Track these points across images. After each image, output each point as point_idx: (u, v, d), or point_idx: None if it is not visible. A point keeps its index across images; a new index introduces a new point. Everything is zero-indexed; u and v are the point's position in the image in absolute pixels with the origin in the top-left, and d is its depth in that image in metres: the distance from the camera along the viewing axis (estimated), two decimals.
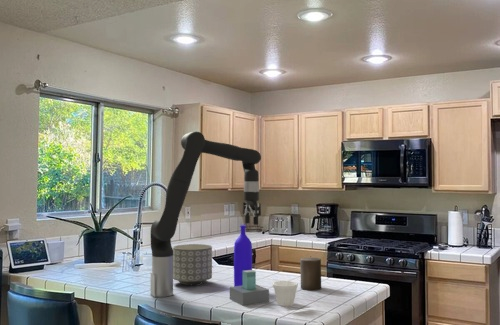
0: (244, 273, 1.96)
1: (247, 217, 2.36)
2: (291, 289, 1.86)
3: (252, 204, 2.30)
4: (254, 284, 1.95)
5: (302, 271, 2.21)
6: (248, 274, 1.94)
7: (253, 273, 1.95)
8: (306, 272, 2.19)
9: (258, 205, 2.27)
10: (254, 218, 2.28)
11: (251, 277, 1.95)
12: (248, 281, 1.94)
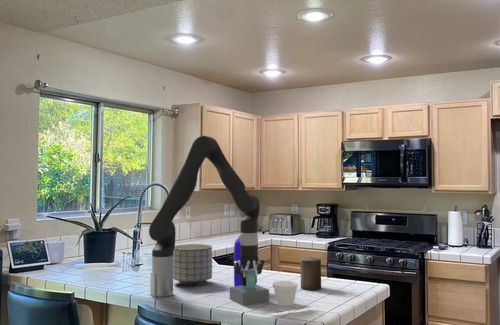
0: None
1: None
2: (291, 289, 1.86)
3: (256, 260, 1.97)
4: (254, 284, 1.95)
5: (302, 271, 2.21)
6: (248, 274, 1.94)
7: (253, 273, 1.95)
8: (306, 272, 2.19)
9: None
10: None
11: (251, 277, 1.95)
12: (248, 281, 1.94)
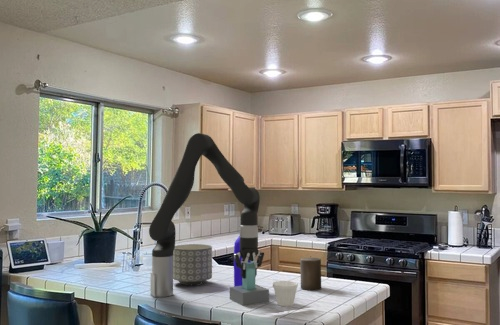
0: None
1: None
2: (291, 289, 1.86)
3: (256, 253, 1.97)
4: (254, 276, 1.95)
5: (302, 271, 2.21)
6: (248, 266, 1.94)
7: (253, 265, 1.95)
8: (306, 272, 2.19)
9: None
10: (255, 270, 1.97)
11: (251, 269, 1.95)
12: (248, 273, 1.94)
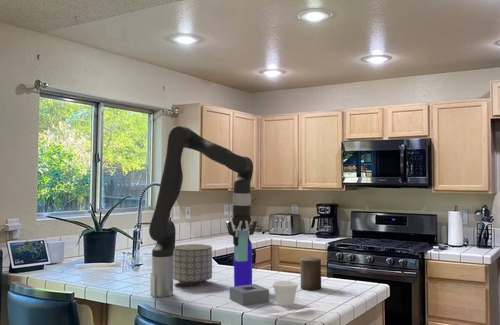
0: None
1: None
2: (291, 289, 1.86)
3: (249, 221, 1.99)
4: (246, 244, 1.97)
5: (302, 271, 2.21)
6: (240, 234, 1.96)
7: (245, 233, 1.97)
8: (306, 272, 2.19)
9: None
10: None
11: (243, 237, 1.96)
12: (240, 241, 1.96)
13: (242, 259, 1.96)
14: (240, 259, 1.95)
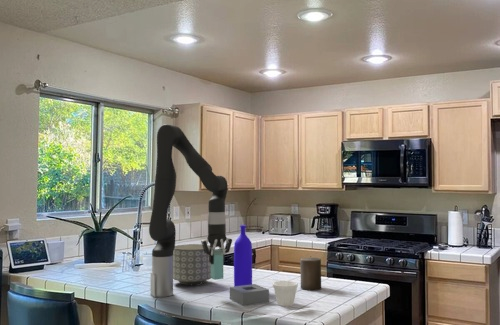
0: None
1: None
2: (291, 289, 1.86)
3: (224, 239, 2.02)
4: (222, 262, 2.00)
5: (302, 271, 2.21)
6: (216, 252, 1.98)
7: (221, 251, 2.00)
8: (306, 272, 2.19)
9: None
10: (223, 256, 2.01)
11: (219, 255, 1.99)
12: (216, 259, 1.98)
13: (218, 277, 1.98)
14: (216, 277, 1.98)
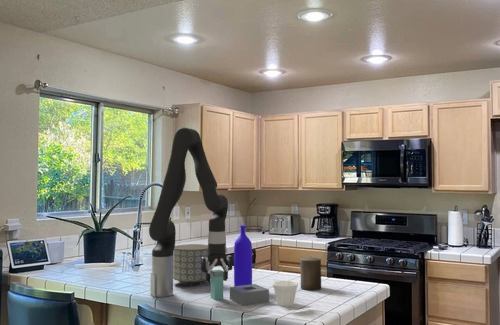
0: (212, 273, 2.00)
1: None
2: (291, 289, 1.86)
3: (224, 257, 2.01)
4: (222, 283, 1.99)
5: (302, 271, 2.21)
6: (216, 274, 1.98)
7: (221, 273, 1.99)
8: (306, 272, 2.19)
9: None
10: (226, 273, 2.02)
11: (219, 277, 1.99)
12: (216, 280, 1.98)
13: (218, 298, 1.98)
14: (216, 299, 1.98)
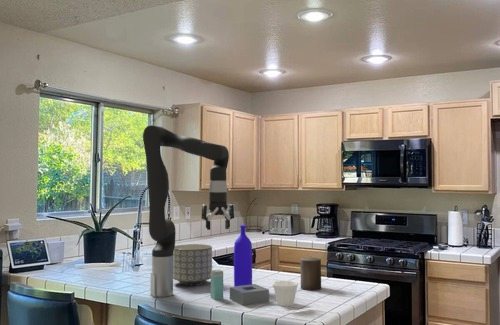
0: (212, 273, 2.00)
1: None
2: (291, 289, 1.86)
3: (225, 206, 2.04)
4: (222, 283, 1.99)
5: (302, 271, 2.21)
6: (216, 274, 1.98)
7: (221, 273, 1.99)
8: (306, 272, 2.19)
9: None
10: (228, 221, 2.04)
11: (219, 277, 1.99)
12: (216, 280, 1.98)
13: (218, 298, 1.98)
14: (216, 299, 1.98)
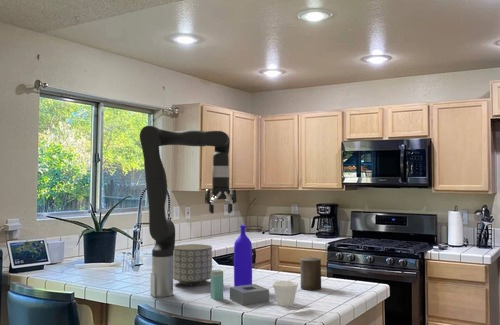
0: (212, 273, 2.00)
1: None
2: (291, 289, 1.86)
3: (227, 191, 2.11)
4: (222, 283, 1.99)
5: (302, 271, 2.21)
6: (216, 274, 1.98)
7: (221, 273, 1.99)
8: (306, 272, 2.19)
9: None
10: (231, 206, 2.11)
11: (219, 277, 1.99)
12: (216, 280, 1.98)
13: (218, 298, 1.98)
14: (216, 299, 1.98)
